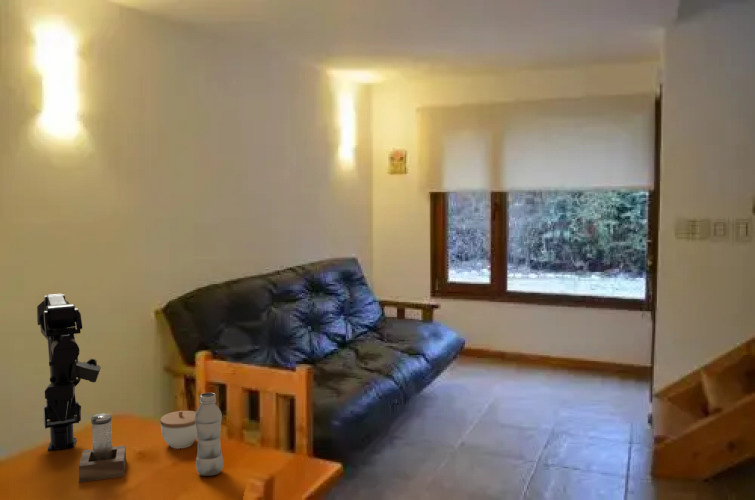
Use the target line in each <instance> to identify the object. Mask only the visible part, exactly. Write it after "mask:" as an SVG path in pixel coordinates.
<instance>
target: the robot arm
mask: <svg viewBox="0 0 755 500" xmlns="http://www.w3.org/2000/svg"><path fill="white" fill-rule="evenodd" d="M43 297H44V300H43V301H41V302H40V304H37V307H36V322H37V326H39V327H40V328H39V329H40V333H41V334H42V336H44V338H45V339H46V340H47V350H48V366H49V382H50V383H49V384H48V385H47V386H46V388H45V390H44V399H46V402H45V404H46V405H44V406H43V424H44V425H43V426H44V429H49V435H50V436H49V437H50V442H49V444H48V446H47V451H56V450H65V449H73V448H75V445H76V442H77V437H74V424H79V423H80V421H82V417H81V416H82V405H80V403H79V401H78V400H76V387H77V385H79V384H80V382H81V380H85V381H89V382H90V383H96V382H97V380H98V377H99V374H100V371H101V368H102V367H101V365H98V363H97V359H95V358H89V359H88V360H87V361H83V362H82V361H79V355H80V347H79V345H78V343H77V341H76V338H75V337H76V335H77V334H81V330H83V322H82V321H83V320H82V314H81V312H80V311H79V309H78V308H76V306H75V305H74V304H73V303H70V302H69V301H67V300H66V294H62V293H52V294H47V295H44V296H43Z"/></svg>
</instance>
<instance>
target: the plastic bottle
mask: <svg viewBox="0 0 755 500" xmlns="http://www.w3.org/2000/svg"><path fill="white" fill-rule="evenodd" d="M216 396H217V395H216V393H214V392H203V393H201V394H200V395H199V404H200V405H199V406H198V408H196V409H197V410H196V411H195V412H196V413H195V416H194V418H195V425H196V430H197V439H196V440H197V448H196V449H197V453H196V458H195V469H196V472H197V474H198V475H200V476H203V477H211V476H215V475H219V474H220V473H221V472H222V470H223V468H224V457H223V453H222V447H221V446H222V445H221V427H222V417H223V416H222V411H221V409H220V408H219V407H218V405H217V404H216V402H217V399H216Z"/></svg>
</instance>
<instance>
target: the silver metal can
mask: <svg viewBox="0 0 755 500" xmlns="http://www.w3.org/2000/svg"><path fill="white" fill-rule="evenodd" d="M112 421H113V420H112V414H110V413H107V412H106V413H103V412H102V413H97V414H94V415H92V417H91V432H92V433H91V435H92V449H93V461H101V460H109V459H113V455H112V447H113V437H112V436H113V433H112V430H113V429H112Z"/></svg>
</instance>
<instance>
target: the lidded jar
mask: <svg viewBox="0 0 755 500" xmlns="http://www.w3.org/2000/svg"><path fill="white" fill-rule="evenodd" d="M195 413H196V411H194V410H177V411H172V412H169V413H166V414H164V415H162V416H161V417H160V421H159V422H160V430H161V435H162V438H163V440H164V441H165V443H167V445H169V446H170V448H171V449H175V450H176V449H177V450H178V449H180V448H181V449H186V448H190V447H191V446H193V444H194V442H195V441H196V440H197V439H198V438H197V430H196V425H195V418H194V416H195Z"/></svg>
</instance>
